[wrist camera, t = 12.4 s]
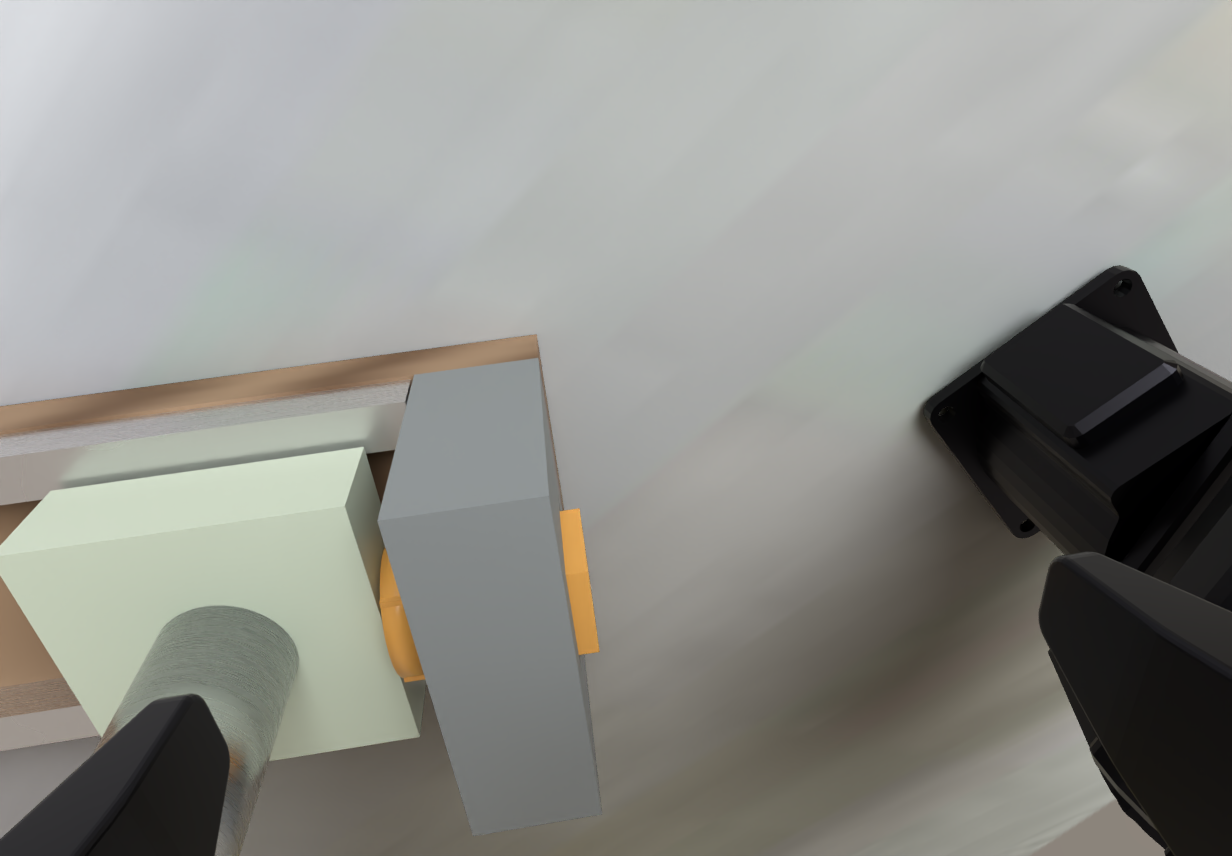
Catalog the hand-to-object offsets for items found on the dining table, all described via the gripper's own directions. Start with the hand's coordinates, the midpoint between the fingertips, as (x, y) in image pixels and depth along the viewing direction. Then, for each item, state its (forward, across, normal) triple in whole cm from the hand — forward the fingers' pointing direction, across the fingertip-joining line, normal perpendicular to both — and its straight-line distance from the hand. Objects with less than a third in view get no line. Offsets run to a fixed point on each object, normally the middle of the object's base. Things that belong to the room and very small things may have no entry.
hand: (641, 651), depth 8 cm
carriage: (+10, +9, +6) cm, 15 cm away
